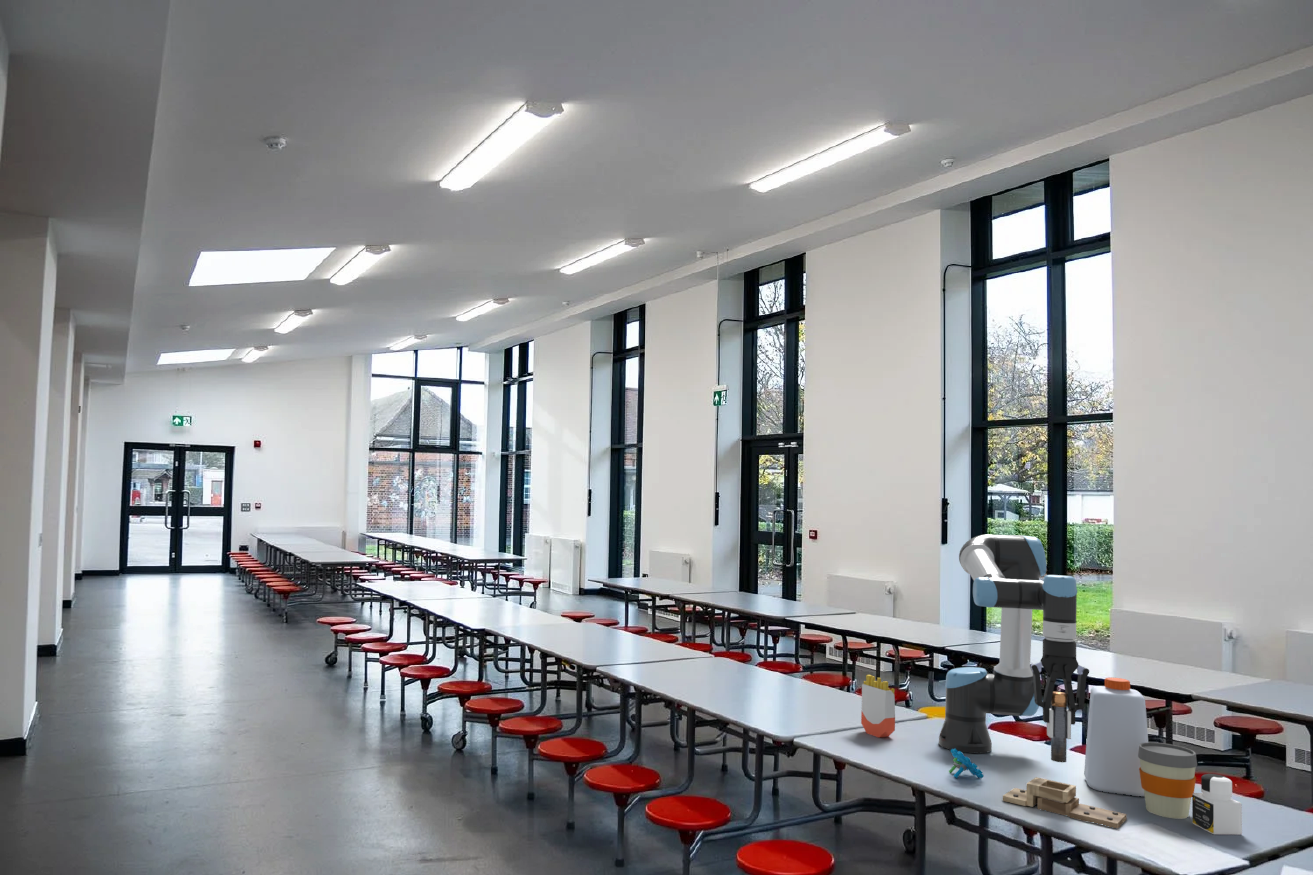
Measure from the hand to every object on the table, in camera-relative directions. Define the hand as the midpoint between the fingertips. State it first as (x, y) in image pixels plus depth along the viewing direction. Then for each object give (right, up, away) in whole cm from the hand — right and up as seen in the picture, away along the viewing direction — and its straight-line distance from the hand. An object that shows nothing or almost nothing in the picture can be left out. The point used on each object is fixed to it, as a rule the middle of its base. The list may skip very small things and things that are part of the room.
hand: (1058, 736), depth 218 cm
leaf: (-4, -17, +2) cm, 17 cm away
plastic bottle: (+24, -20, +19) cm, 36 cm away
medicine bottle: (+31, -18, -11) cm, 38 cm away
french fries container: (-28, -21, +64) cm, 73 cm away
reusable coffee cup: (+26, -18, 0) cm, 32 cm away
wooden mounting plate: (+3, -17, -4) cm, 18 cm away
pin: (0, -6, 0) cm, 6 cm away
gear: (-15, -18, +22) cm, 33 cm away
